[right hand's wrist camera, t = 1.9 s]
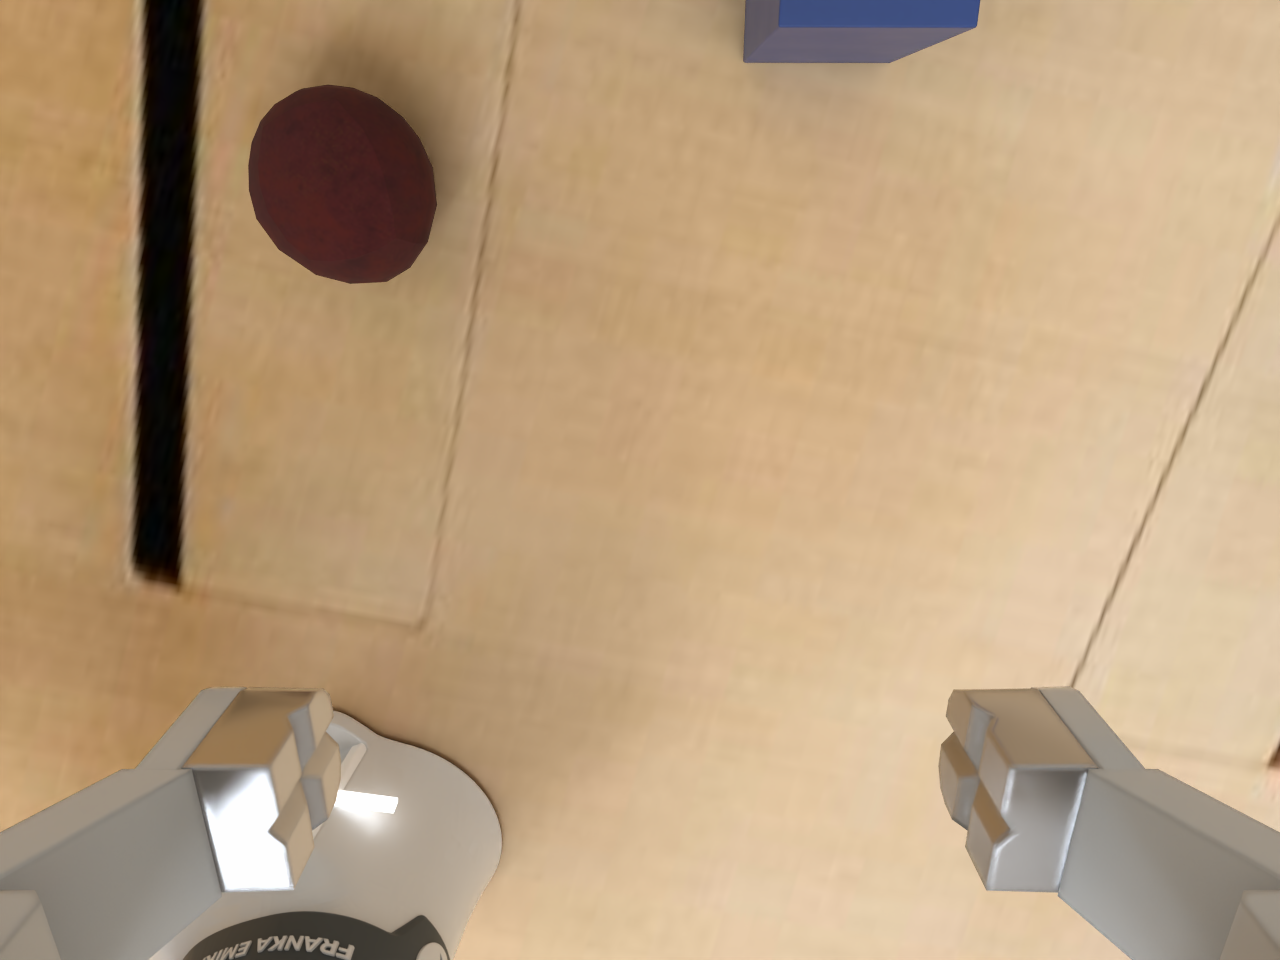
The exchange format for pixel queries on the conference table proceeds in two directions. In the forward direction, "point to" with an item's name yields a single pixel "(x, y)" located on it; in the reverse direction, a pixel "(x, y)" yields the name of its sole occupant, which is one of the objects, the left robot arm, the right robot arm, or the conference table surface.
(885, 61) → the box
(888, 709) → the conference table surface
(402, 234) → the potato
